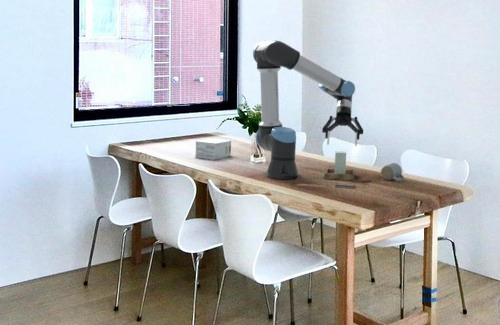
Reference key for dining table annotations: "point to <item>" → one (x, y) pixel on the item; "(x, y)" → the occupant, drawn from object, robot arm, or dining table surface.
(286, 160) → the robot arm
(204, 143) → the supplement box
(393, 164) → the ceramic mug
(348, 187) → the coaster
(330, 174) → the crate
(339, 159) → the block
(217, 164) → the dining table surface
